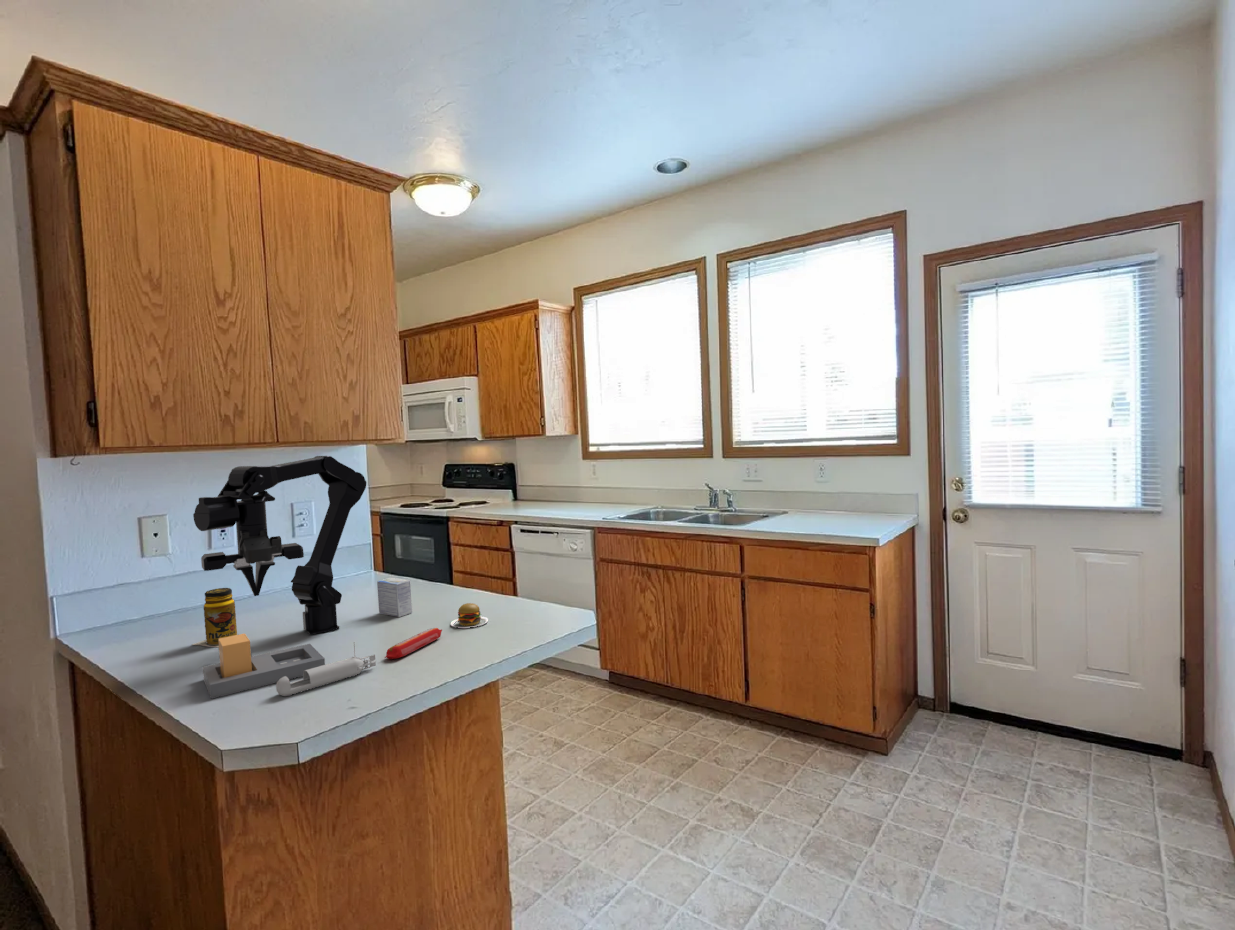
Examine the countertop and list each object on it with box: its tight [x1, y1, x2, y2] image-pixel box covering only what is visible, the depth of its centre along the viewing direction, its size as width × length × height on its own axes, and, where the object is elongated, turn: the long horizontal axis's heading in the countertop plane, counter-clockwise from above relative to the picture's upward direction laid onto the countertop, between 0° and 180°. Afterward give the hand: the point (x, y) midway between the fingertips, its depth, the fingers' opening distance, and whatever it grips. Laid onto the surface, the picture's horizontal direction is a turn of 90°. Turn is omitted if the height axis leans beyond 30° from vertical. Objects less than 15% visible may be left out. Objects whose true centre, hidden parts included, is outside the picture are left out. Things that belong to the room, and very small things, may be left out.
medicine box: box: [377, 577, 413, 618], centre depth 164 cm, size 8×4×9 cm, turn 57°
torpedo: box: [275, 643, 377, 697], centre depth 119 cm, size 18×5×7 cm, turn 136°
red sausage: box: [384, 627, 443, 660], centre depth 137 cm, size 16×4×3 cm, turn 159°
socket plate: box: [202, 643, 326, 699], centre depth 124 cm, size 19×12×2 cm, turn 128°
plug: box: [218, 633, 252, 678], centre depth 122 cm, size 4×9×7 cm, turn 38°
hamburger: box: [450, 602, 489, 629], centre depth 153 cm, size 12×12×6 cm
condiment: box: [191, 587, 238, 648], centre depth 146 cm, size 7×8×12 cm
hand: (256, 595), depth 139 cm, fingers closed
